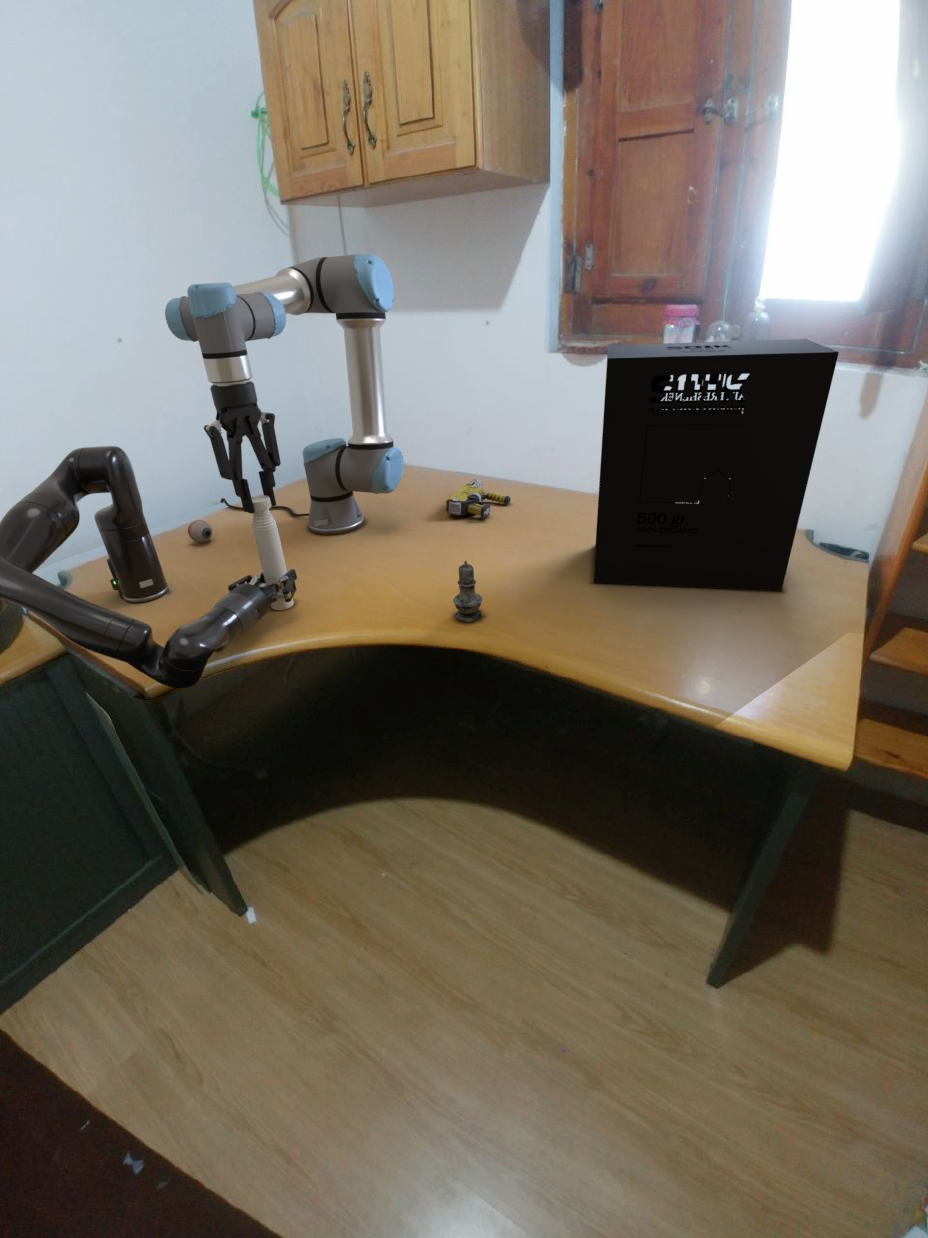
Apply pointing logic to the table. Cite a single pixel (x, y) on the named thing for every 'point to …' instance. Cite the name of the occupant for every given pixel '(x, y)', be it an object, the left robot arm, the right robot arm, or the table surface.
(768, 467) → the cardboard box
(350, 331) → the right robot arm
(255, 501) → the cap
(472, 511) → the toy gun
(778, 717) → the table surface
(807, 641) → the table surface
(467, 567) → the grey tall ringed piece
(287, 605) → the bottle
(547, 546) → the table surface
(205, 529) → the eyeball
